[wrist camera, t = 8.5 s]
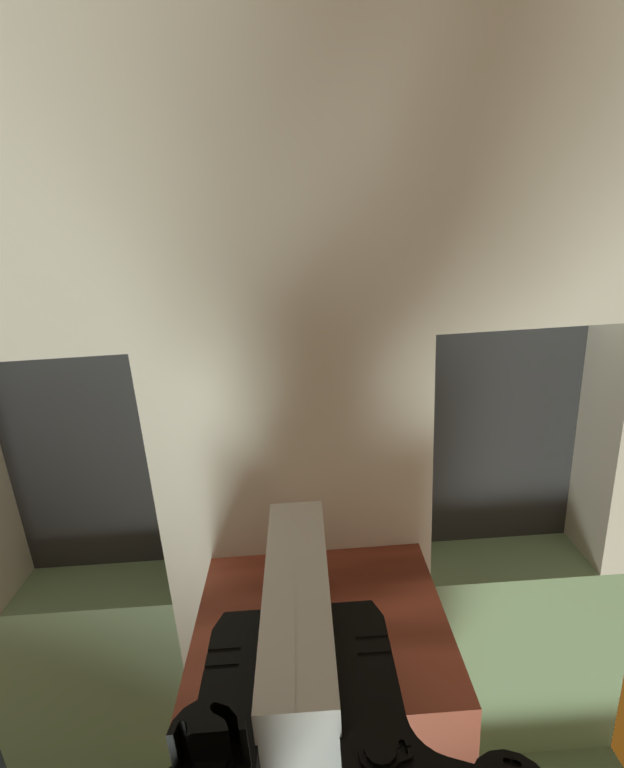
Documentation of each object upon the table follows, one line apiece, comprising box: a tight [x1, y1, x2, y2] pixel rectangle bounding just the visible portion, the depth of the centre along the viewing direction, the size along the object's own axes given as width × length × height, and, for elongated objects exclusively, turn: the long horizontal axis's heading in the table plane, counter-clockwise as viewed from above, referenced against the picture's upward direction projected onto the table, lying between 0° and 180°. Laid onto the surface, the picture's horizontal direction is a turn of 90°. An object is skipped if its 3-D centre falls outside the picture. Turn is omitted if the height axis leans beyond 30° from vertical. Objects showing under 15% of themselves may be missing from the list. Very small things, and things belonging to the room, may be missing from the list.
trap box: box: [0, 0, 624, 768], centre depth 16 cm, size 32×24×6 cm
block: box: [170, 543, 482, 764], centre depth 15 cm, size 7×7×6 cm
